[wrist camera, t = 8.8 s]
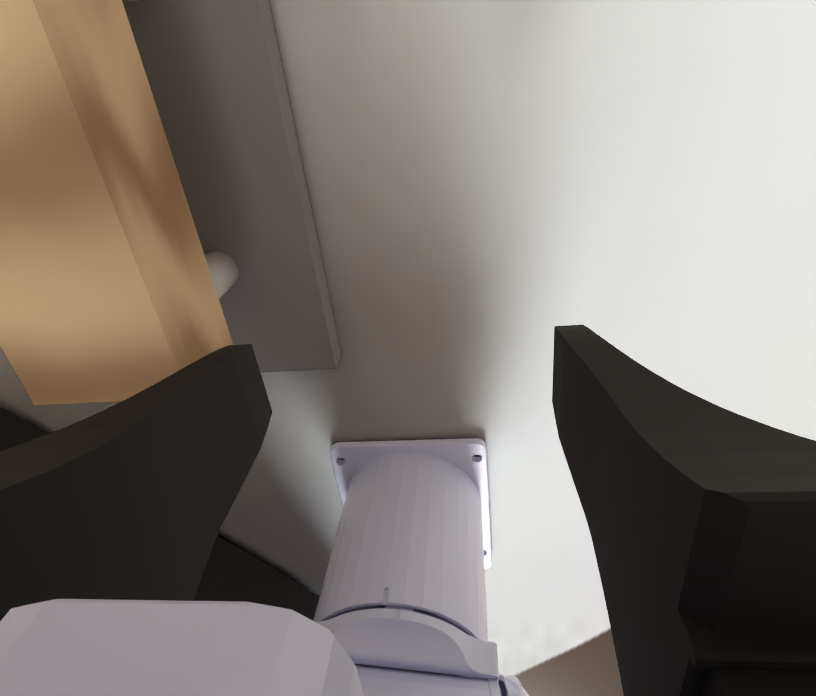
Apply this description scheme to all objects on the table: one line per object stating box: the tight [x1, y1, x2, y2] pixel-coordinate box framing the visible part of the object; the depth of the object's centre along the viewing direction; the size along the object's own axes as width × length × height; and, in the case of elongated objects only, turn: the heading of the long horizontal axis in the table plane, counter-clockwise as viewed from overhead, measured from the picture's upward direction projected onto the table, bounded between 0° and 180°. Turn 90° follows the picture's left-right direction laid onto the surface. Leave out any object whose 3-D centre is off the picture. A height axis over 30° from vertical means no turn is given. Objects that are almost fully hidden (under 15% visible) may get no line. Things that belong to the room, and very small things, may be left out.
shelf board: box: [0, 0, 233, 405], centre depth 14 cm, size 14×6×4 cm, turn 7°
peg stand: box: [122, 0, 341, 372], centre depth 18 cm, size 20×11×4 cm, turn 6°
